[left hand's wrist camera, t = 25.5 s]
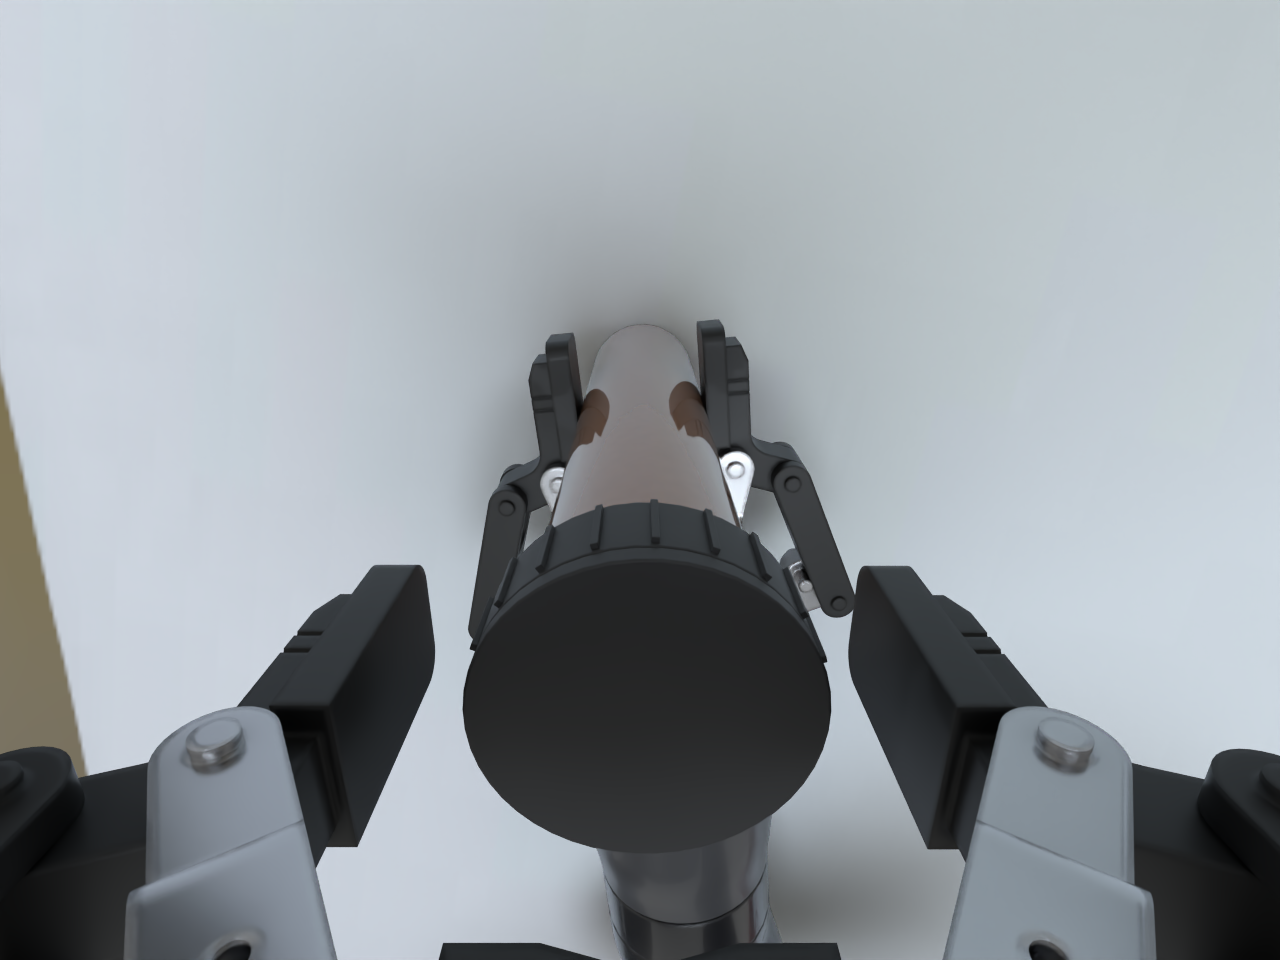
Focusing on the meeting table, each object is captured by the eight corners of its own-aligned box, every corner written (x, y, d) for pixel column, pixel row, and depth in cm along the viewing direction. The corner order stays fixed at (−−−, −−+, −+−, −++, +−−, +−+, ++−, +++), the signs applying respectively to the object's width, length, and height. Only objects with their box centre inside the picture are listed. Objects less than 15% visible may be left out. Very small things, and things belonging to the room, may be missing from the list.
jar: (596, 422, 29) (526, 785, 11) (589, 326, 27) (495, 564, 10) (692, 418, 29) (777, 775, 11) (690, 321, 27) (786, 553, 9)
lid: (468, 741, 12) (440, 830, 10) (507, 468, 10) (480, 521, 8) (758, 786, 12) (777, 879, 10) (848, 531, 10) (889, 595, 9)
